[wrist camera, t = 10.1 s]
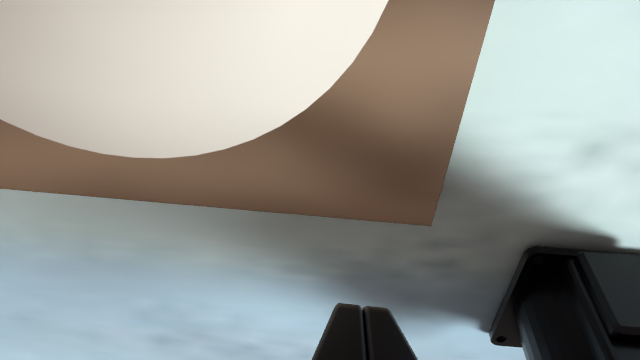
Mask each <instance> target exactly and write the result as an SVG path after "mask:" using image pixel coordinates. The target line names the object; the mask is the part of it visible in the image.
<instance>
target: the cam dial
mask: <svg viewBox="0 0 640 360" xmlns="http://www.w3.org/2000/svg"><path fill="white" fill-rule="evenodd" d="M387 2H388V0H0V119H1V120H3V121H5V122H7V123H9V124H12V125H14V126H16V127H19V128H21V129H23V130H25V131H28V132H30V133H32V134H35V135H37V136H40V137H43V138H46V139H49V140H52V141H55V142H58V143H61V144H64V145H67V146H70V147H75V148H79V149H84V150H88V151H92V152H97V153H101V154H108V155H116V156H124V157H132V158H174V157H184V156H195V155H200V154H205V153H209V152H214V151H219V150H224V149H227V148H230V147H233V146H236V145H239V144H242V143H244V142H247V141H250V140H253V139H255V138H257V137H259V136H261V135H263V134H265V133H267V132H269V131H272V130H274V129H276V128H278V127H280V126H281V125H283V124H284V123H286V122H287V121H289V120H290V119H292V118H293V117H295V116H296V115H298V114H299V113H301V112H302V111H304V110H305V109H307V108H308V107H309V106H310V105H311V104H312V103H314V102H315V101H316V100H317V99H318V98H319V97H321V96H322V95H323V94H324V93H325V92H326V91H327V90H329V89H330V88H331V87H332V85H333V84H334V83H335V82H336V81H337V80H338V79H339V77H340V76H341V75H342V74H343V73H344V72H345V71H346V70H347V68H348V67H349V66H350V65H351V64H352V63H353V61H354V60H355V58H356V57H357V55H358V54H359V52H360V51H361V49H362V48H363V46H364V45H365V43H366V42H367V40H368V39H369V37H370V36H371V34H372V33H373V31H374V29H375V27H376V25H377V23H378V21H379V19H380V17H381V14H382V12H383V10H384V8H385V6H386V4H387Z"/></svg>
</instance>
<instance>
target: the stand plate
mask: <svg viewBox="0 0 640 360" xmlns="http://www.w3.org/2000/svg"><path fill="white" fill-rule="evenodd" d="M494 1H495V0H388V2H387V4H386V6H385V8H384V10H383V12H382V14H381V17H380V19H379V21H378V23H377V25H376V27H375V29H374V31H373V33H372V34H371V36H370V37H369V39H368V40H367V42H366V43H365V45H364V46H363V48H362V49H361V51H360V52H359V54H358V55H357V57H356V58H355V60H354V61H353V63H352V64H351V65H350V66H349V67H348V68H347V70H346V71H345V72H344V73H343V74H342V75H341V76H340V77H339V79H338V80H337V81H336V82H335V83H334V84H333V85H332V87H331V88H330V89H329V90H327V91H326V92H325V93H324V94H323V95H322V96H321V97H319V98H318V99H317V100H316V101H315V102H314V103H312V104H311V105H310V106H309V107H308V108H307V109H305V110H304V111H302V112H301V113H299V114H298V115H296V116H295V117H293V118H292V119H290V120H289V121H287V122H286V123H284V124H283V125H281V126H280V127H278V128H276V129H274V130H272V131H269V132H267V133H265V134H263V135H261V136H259V137H257V138H255V139H253V140H250V141H247V142H244V143H242V144H239V145H236V146H233V147H230V148H227V149H224V150H219V151H214V152H209V153H205V154H200V155H195V156H184V157H174V158H132V157H124V156H116V155H108V154H101V153H97V152H92V151H88V150H84V149H79V148H75V147H70V146H67V145H64V144H61V143H58V142H55V141H52V140H49V139H46V138H43V137H40V136H37V135H35V134H32V133H30V132H28V131H25V130H23V129H21V128H19V127H16V126H14V125H12V124H9V123H7V122H5V121H3V120H1V119H0V189H11V190H23V191H34V192H45V193H57V194H68V195H80V196H91V197H103V198H114V199H126V200H137V201H149V202H160V203H172V204H183V205H195V206H206V207H218V208H229V209H241V210H252V211H264V212H275V213H287V214H298V215H310V216H321V217H333V218H344V219H356V220H367V221H379V222H390V223H402V224H413V225H425V226H431V224H432V221H433V217H434V214H435V210H436V207H437V203H438V200H439V196H440V193H441V189H442V186H443V182H444V178H445V175H446V171H447V168H448V164H449V161H450V157H451V154H452V150H453V147H454V143H455V140H456V136H457V132H458V129H459V125H460V122H461V118H462V115H463V111H464V108H465V104H466V101H467V97H468V94H469V90H470V86H471V83H472V79H473V76H474V72H475V69H476V65H477V62H478V58H479V55H480V51H481V48H482V44H483V40H484V37H485V33H486V30H487V26H488V23H489V19H490V16H491V12H492V9H493V5H494Z"/></svg>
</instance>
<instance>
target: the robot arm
mask: <svg viewBox="0 0 640 360" xmlns="http://www.w3.org/2000/svg"><path fill="white" fill-rule="evenodd" d="M536 257H538V258H536ZM534 258H535V259H534ZM489 336H490V340H491V342H492V343H493V344H494V345H498V346H511V347H523V350H524V354H525V357H526V360H640V255H633V254H622V253H610V252H599V251H587V250H576V249H564V248H552V247H541V246H536V247H531V248H529V249H528V250H526V251H525V253H524V254H523V257H522V259H521V261H520V263H519V266H518V268H517V270H516V273H515V275H514V277H513V279H512V282H511V284H510V286H509V288H508V291H507V293H506V295H505V298H504V300H503V302H502V304H501V307H500V309H499V311H498V313H497V316H496V318H495V320H494V323H493V325H492V327H491V329H490V332H489ZM312 360H418V359H417V357H416V356H415V354H414V352H413V350H412V348H411V347H410V345H409V343H408V341H407V340H406V338H405V336H404V334H403V333H402V331H401V329H400V327H399V326H398V324H397V322H396V320H395V318H394V317H393V315H392V313H391V312H390V311H389V310H388V309H386V308H380V307H371V306H365V307H363V309H362V308H361V307H360V306H359V305H352V304H342V303H339V304H337V305H336V306H335V308H334V310H333V312H332V314H331V317H330V319H329V321H328V324H327V326H326V328H325V330H324V333H323V335H322V337H321V340H320V342H319V344H318V346H317V349H316V351H315V353H314V356H313V358H312Z"/></svg>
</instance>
